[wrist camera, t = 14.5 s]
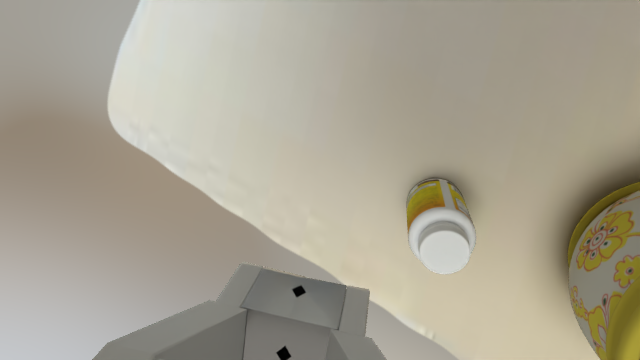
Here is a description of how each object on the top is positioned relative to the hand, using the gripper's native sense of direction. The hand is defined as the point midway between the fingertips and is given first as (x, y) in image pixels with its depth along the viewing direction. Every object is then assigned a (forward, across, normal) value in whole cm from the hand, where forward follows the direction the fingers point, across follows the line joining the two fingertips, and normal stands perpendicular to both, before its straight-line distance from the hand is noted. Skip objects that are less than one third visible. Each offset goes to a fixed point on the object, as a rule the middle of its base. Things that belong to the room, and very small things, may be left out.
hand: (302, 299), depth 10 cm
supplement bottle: (+33, -8, +10) cm, 36 cm away
